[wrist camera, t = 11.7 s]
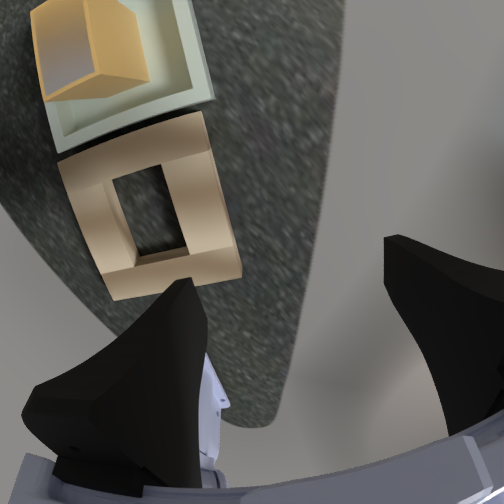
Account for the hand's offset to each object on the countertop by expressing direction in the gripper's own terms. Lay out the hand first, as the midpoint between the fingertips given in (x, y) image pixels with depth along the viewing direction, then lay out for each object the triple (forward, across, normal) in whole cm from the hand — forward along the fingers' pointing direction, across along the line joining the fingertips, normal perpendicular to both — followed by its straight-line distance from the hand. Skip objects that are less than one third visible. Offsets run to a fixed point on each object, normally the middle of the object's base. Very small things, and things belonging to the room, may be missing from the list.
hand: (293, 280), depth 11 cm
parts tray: (+10, +7, -12) cm, 17 cm away
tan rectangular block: (+9, +7, -12) cm, 17 cm away
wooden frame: (+10, +8, -1) cm, 13 cm away
